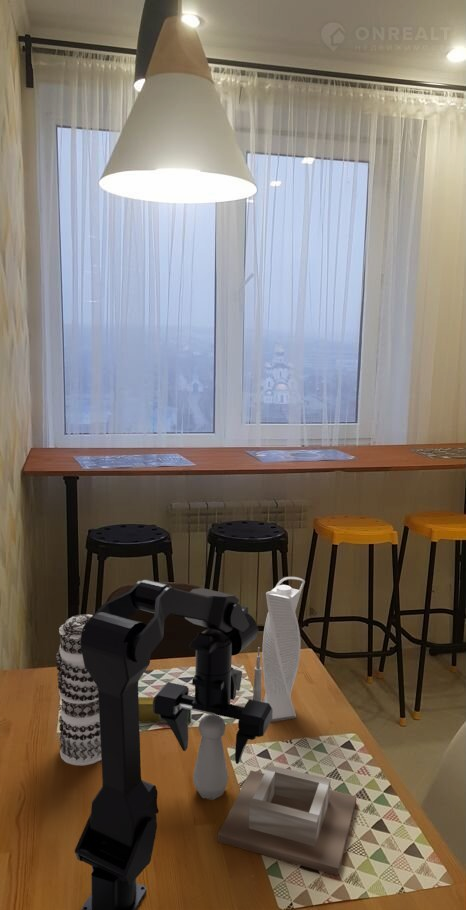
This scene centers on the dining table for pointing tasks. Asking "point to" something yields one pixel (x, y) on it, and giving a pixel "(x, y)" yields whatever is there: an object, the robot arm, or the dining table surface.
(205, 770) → the salt shaker
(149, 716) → the medication box
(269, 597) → the skyscraper
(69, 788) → the dining table surface
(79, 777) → the dining table surface
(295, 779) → the socket board
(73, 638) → the decorative candle
